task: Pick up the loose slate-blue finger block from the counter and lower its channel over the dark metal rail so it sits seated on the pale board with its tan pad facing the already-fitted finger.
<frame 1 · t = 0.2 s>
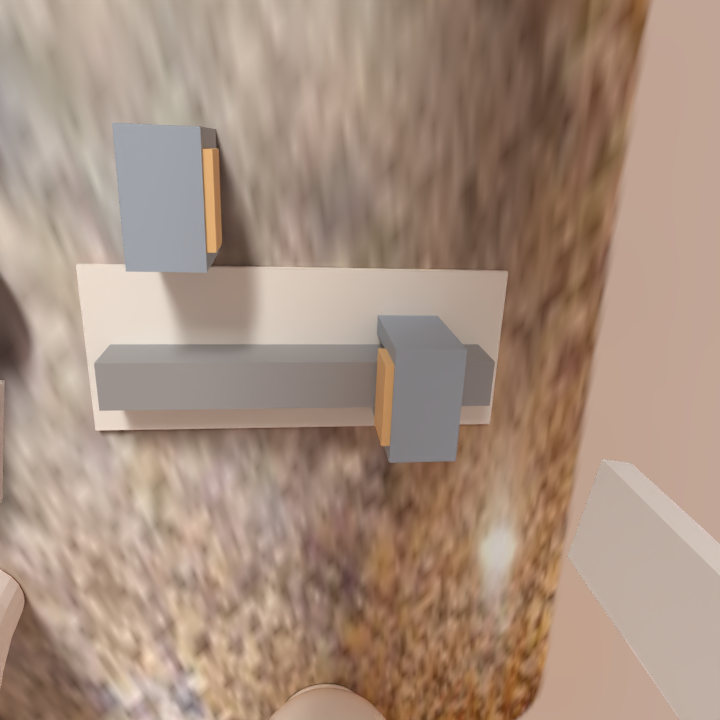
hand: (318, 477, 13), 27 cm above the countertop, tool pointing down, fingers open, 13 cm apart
rail board: (300, 349, 40), on the countertop
lidded bowl: (322, 713, 52), on the countertop
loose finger: (184, 190, 36), on the countertop
fitted finger: (404, 365, 41), resting on rail board
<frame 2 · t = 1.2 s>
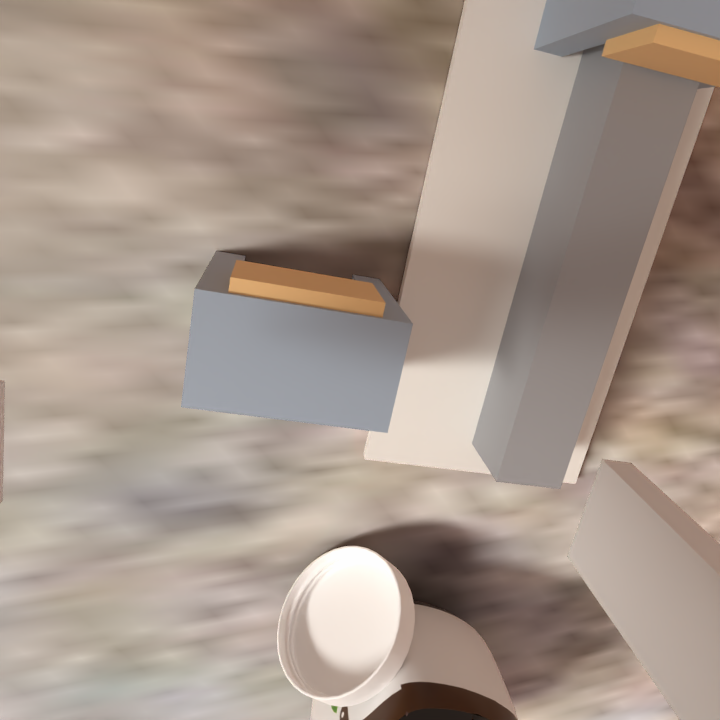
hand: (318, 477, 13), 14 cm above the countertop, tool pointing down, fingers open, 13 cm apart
spread jar: (369, 626, 33), on the countertop
rail board: (549, 191, 26), on the countertop
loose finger: (292, 310, 26), on the countertop
fitted finger: (630, 14, 24), resting on rail board
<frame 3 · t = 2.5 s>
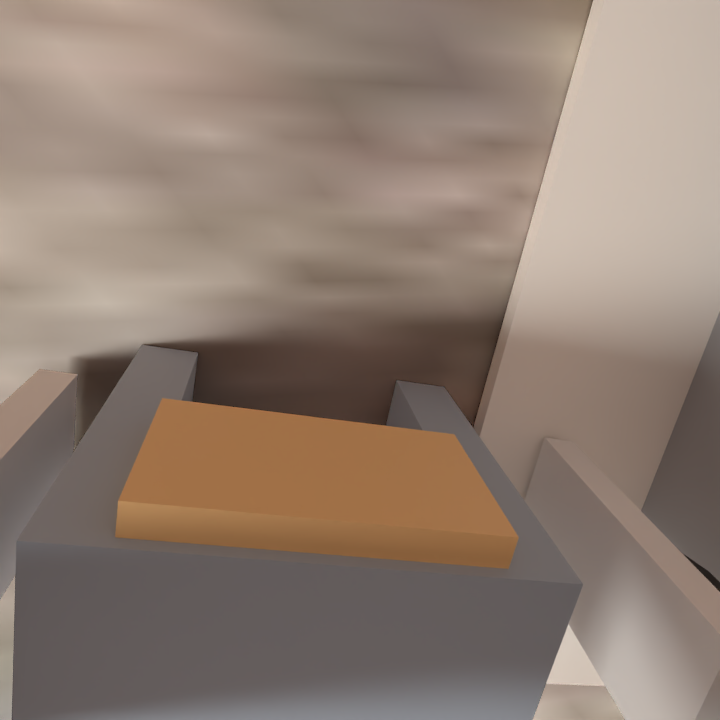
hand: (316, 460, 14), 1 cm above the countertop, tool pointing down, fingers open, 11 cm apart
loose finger: (286, 444, 15), on the countertop
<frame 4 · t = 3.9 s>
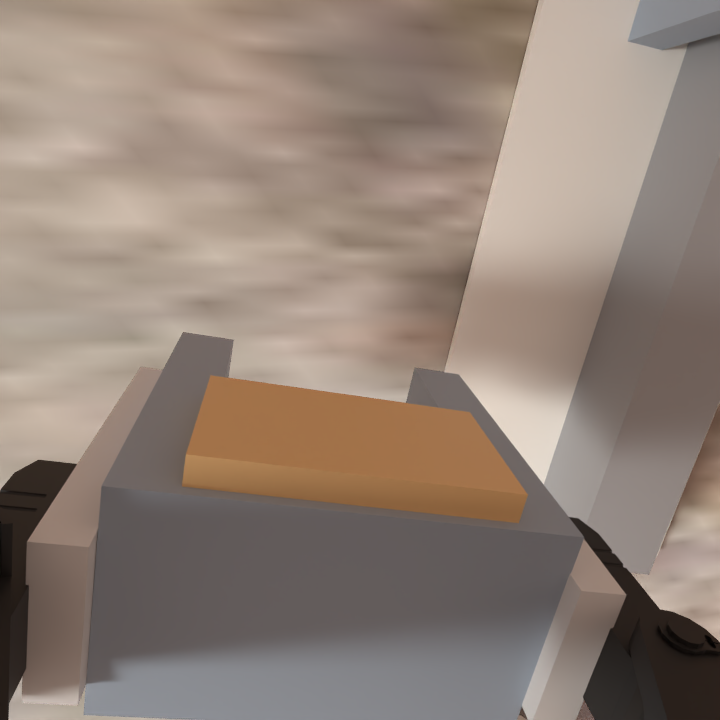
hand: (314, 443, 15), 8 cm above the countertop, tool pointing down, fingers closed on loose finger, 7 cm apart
rail board: (638, 213, 22), on the countertop
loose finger: (312, 425, 16), point 7 cm above the countertop, touching gripper
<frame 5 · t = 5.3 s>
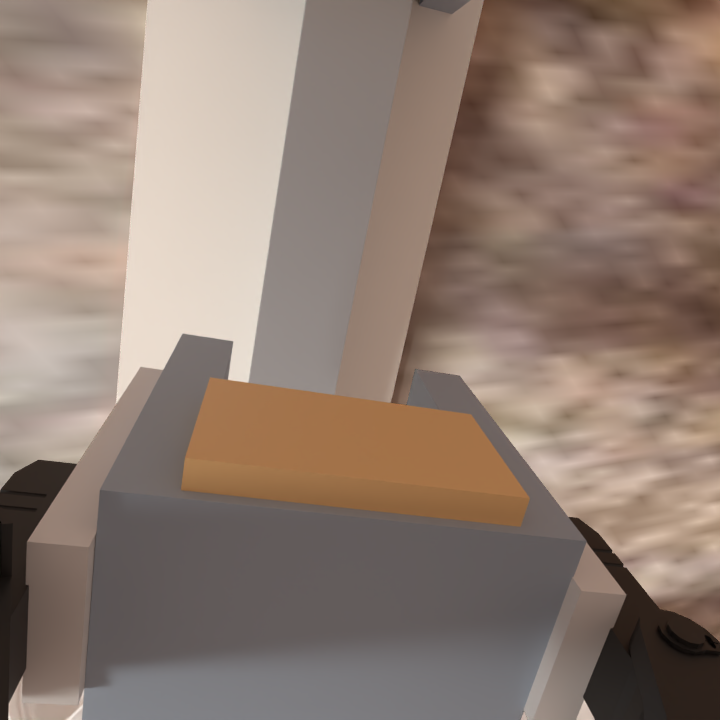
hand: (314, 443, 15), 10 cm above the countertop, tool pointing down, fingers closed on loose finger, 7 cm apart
spread jar: (155, 644, 29), on the countertop
rail board: (298, 137, 22), on the countertop
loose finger: (312, 427, 16), point 9 cm above the countertop, touching gripper
when the fingers open (2 cm above the countertop, at t = 6.9 s): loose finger stays where it is, resting on rail board.
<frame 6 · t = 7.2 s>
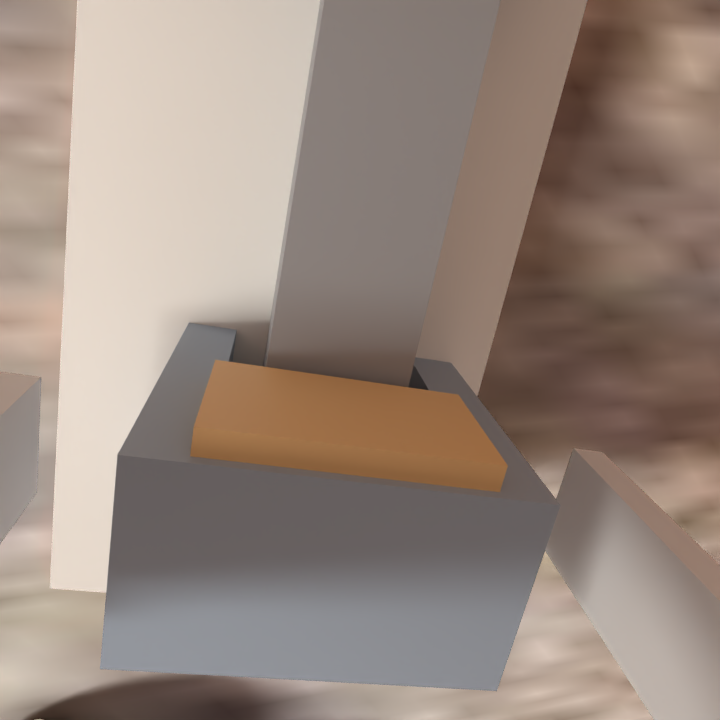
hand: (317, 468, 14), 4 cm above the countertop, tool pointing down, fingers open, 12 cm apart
rail board: (319, 138, 15), on the countertop
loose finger: (312, 412, 17), resting on rail board
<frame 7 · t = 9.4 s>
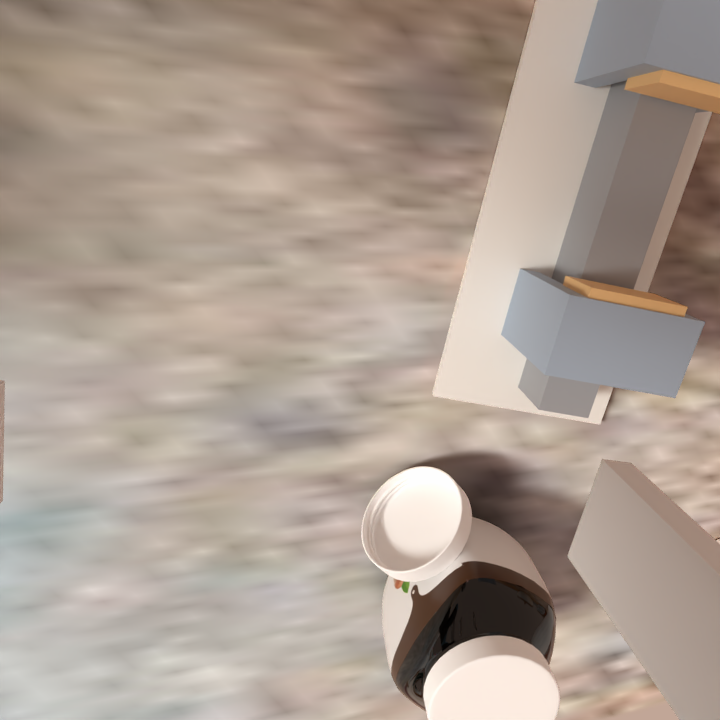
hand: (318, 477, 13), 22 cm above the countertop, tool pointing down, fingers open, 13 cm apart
spread jar: (429, 540, 41), on the countertop
rail board: (583, 189, 34), on the countertop
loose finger: (566, 312, 36), resting on rail board
fitted finger: (648, 57, 32), resting on rail board
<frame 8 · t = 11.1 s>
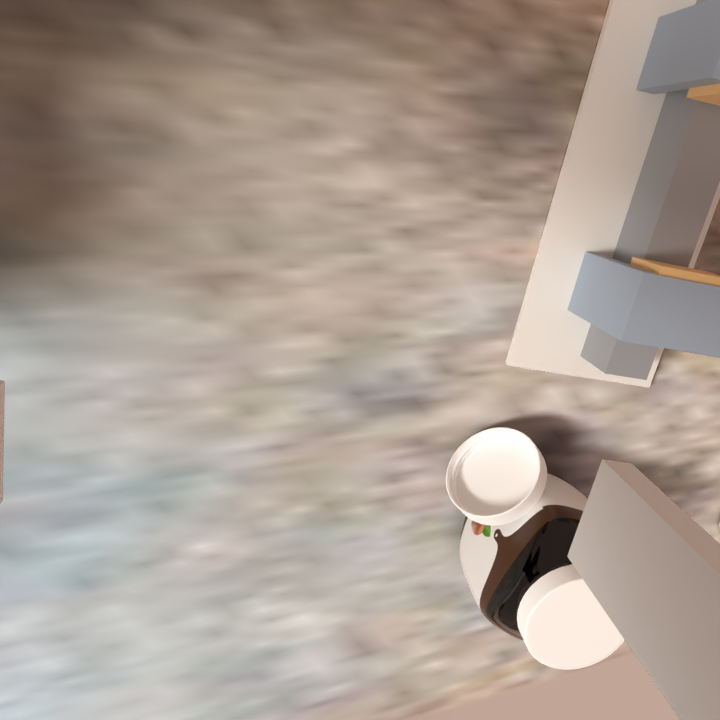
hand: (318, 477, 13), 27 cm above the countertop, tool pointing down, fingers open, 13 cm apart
spread jar: (497, 494, 46), on the countertop
rail board: (640, 181, 39), on the countertop
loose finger: (623, 289, 41), resting on rail board
fitted finger: (698, 67, 37), resting on rail board
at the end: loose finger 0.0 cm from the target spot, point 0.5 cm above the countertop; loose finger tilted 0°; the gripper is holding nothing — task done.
